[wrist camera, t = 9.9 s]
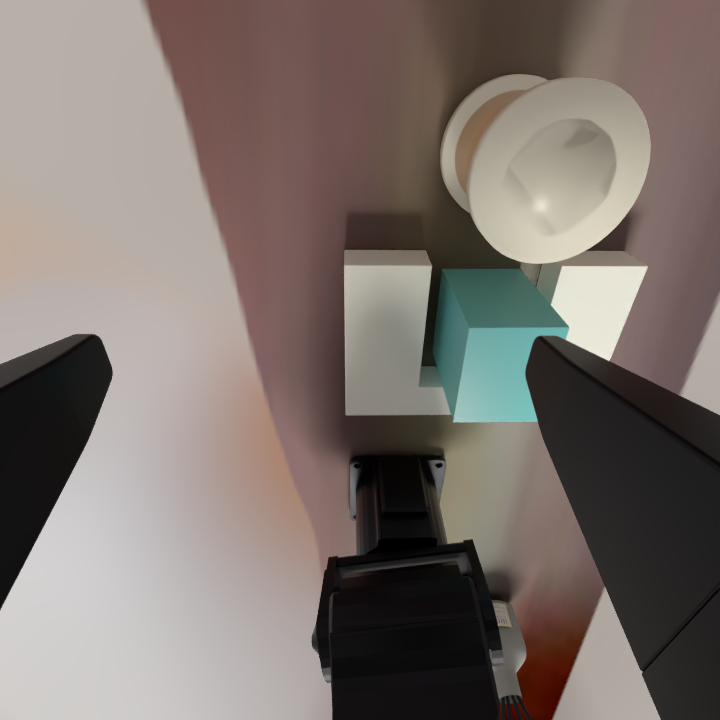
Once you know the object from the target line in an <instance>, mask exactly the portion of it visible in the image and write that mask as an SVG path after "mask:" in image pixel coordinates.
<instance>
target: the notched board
mask: <svg viewBox="0 0 720 720" xmlns="http://www.w3.org/2000/svg"><path fill="white" fill-rule="evenodd" d="M647 267H648V266H646V265H645V264H643V263H642V262H641V261H639V260H638V259H636V258H635V257H633V256H632V255H630V254H629V253H627V252H626V251H584V252H582V253H580V254H578V255H575V256H573V257H571V258H568V259H565V260H561V261H557V262H552V263H542V267H541V271H540V275H539V279H538V282H537V286H536V288H537V289H538V290H539V292H540V293H541V294H542V295H543V296H544V298H545V299H546V300H547V301H548V302H549V304H550V305H551V306H552V307H553V308H554V309H555V311H556V312H557V313H558V314H559V315H560V317H561V318H562V319H563V320H564V321H565V323H566V324H567V325H568V326H569V327H570V328H569V331H568V334H567V337H566V340H567V341H569V342H571V343H573V344H575V345H577V346H579V347H581V348H583V349H585V350H587V351H589V352H592V353H594V354H596V355H598V356H600V357H602V358H604V359H606V360H608V361H610V358H611V356H612V353H613V351H614V348H615V346H616V344H617V341H618V339H619V336H620V334H621V331H622V329H623V326H624V324H625V321H626V319H627V316H628V314H629V312H630V309H631V307H632V304H633V302H634V299H635V297H636V294H637V292H638V289H639V287H640V284H641V282H642V280H643V277H644V275H645V272H646V270H647ZM431 270H432V265H431V262H430V260H429V257H428V255H427V253H426V250H344V307H345V415H451V413H450V410H449V407H448V403H447V400H446V396H445V393H444V390H443V386H442V383H441V379H440V376H439V372H438V369H437V366H421V360H422V351H423V342H424V333H425V324H426V315H427V306H428V297H429V288H430V279H431Z"/></svg>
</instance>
